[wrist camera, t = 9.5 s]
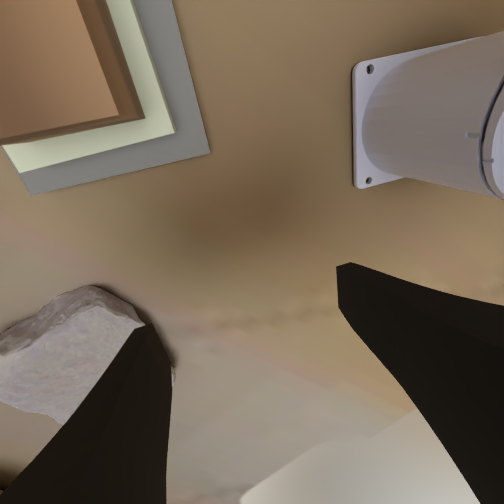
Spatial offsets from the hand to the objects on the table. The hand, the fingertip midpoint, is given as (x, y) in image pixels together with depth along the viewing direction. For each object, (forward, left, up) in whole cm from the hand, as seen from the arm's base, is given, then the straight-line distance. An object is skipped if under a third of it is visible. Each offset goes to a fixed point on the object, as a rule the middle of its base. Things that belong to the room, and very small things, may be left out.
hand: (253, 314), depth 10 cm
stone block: (+12, +8, -11) cm, 18 cm away
